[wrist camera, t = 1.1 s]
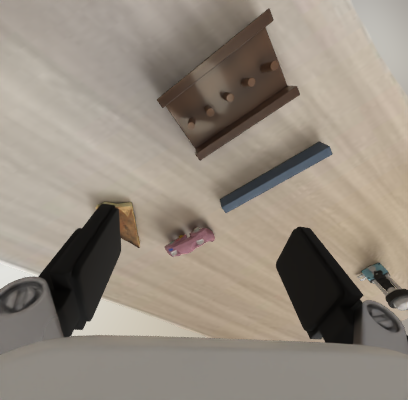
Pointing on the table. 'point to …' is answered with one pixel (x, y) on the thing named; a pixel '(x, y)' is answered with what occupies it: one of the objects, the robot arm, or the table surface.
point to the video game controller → (189, 242)
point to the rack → (230, 90)
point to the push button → (386, 286)
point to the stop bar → (276, 176)
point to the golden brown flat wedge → (126, 222)
